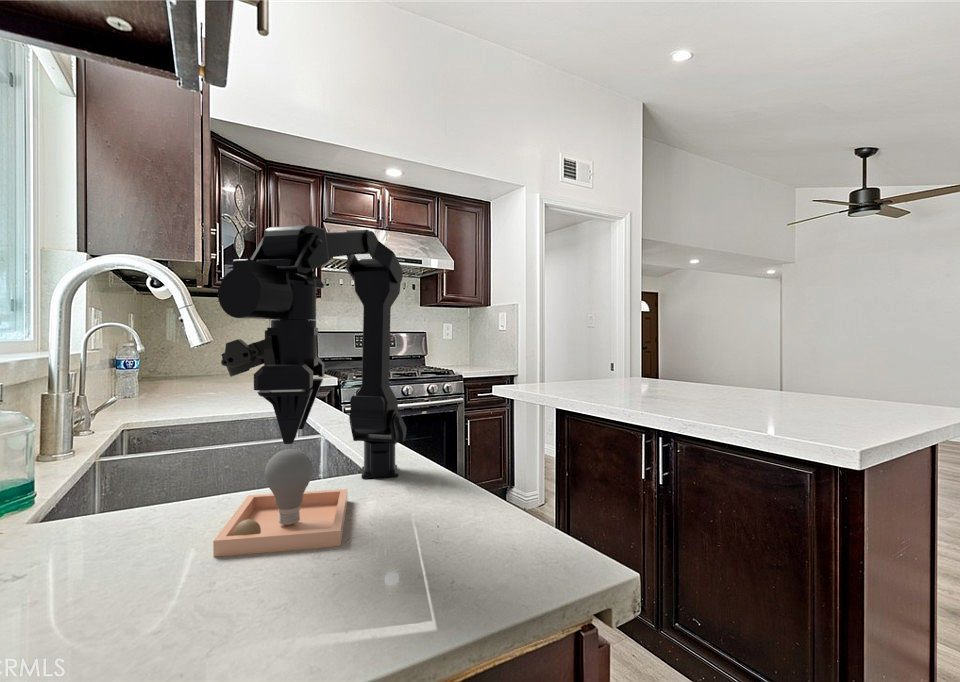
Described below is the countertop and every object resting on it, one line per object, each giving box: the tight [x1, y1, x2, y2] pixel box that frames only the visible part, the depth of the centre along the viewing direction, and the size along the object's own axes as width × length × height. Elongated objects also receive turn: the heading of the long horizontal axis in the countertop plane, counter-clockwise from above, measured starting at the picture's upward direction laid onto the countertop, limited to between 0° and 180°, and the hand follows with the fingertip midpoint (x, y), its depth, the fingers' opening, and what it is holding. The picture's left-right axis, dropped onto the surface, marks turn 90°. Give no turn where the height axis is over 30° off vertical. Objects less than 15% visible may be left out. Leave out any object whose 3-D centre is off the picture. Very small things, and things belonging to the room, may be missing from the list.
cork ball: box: [233, 519, 261, 536], centre depth 59 cm, size 3×3×3 cm
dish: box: [212, 488, 349, 558], centre depth 65 cm, size 16×14×2 cm
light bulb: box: [264, 448, 314, 526], centre depth 65 cm, size 6×6×10 cm
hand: (294, 436), depth 66 cm, fingers open, 9 cm apart
